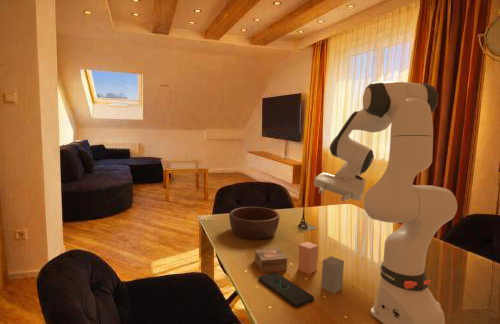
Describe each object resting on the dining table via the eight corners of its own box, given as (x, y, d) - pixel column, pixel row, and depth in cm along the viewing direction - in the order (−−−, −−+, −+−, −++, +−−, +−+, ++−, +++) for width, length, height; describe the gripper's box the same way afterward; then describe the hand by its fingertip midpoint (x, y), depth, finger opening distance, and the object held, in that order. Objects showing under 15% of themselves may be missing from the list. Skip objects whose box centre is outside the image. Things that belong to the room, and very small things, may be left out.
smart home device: (275, 271, 118) (315, 296, 101) (275, 275, 118) (315, 301, 102) (257, 276, 113) (295, 304, 97) (257, 281, 113) (295, 309, 97)
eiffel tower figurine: (300, 234, 162) (301, 208, 160) (286, 228, 170) (287, 204, 168) (319, 228, 171) (321, 204, 169) (305, 223, 179) (306, 200, 177)
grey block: (342, 288, 109) (344, 261, 108) (333, 293, 106) (335, 265, 104) (329, 283, 113) (331, 256, 111) (321, 287, 109) (322, 260, 108)
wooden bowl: (218, 231, 161) (219, 211, 160) (255, 221, 178) (255, 203, 176) (251, 247, 143) (252, 224, 141) (289, 234, 159) (290, 214, 158)
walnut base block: (286, 270, 121) (287, 258, 121) (261, 273, 119) (262, 260, 118) (278, 259, 131) (278, 247, 130) (254, 261, 129) (254, 249, 128)
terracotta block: (316, 270, 122) (318, 245, 121) (308, 274, 119) (310, 248, 117) (306, 265, 126) (307, 241, 124) (298, 269, 122) (299, 244, 121)
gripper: (322, 166, 139) (307, 181, 130) (369, 180, 129) (357, 197, 119) (321, 178, 143) (307, 193, 133) (366, 193, 132) (355, 211, 123)
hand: (331, 195), depth 126 cm, fingers open, 8 cm apart
